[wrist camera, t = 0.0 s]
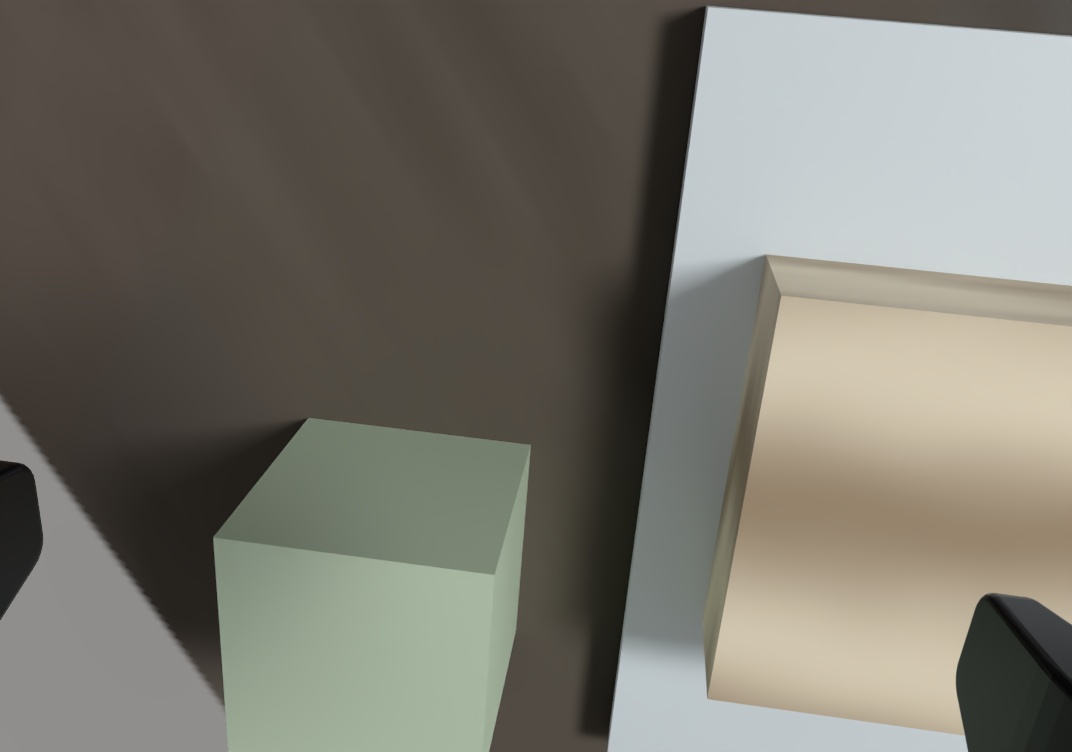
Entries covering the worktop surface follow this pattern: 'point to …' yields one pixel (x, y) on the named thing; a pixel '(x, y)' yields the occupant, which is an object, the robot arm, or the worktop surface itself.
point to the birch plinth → (888, 486)
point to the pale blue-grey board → (824, 234)
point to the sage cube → (372, 592)
